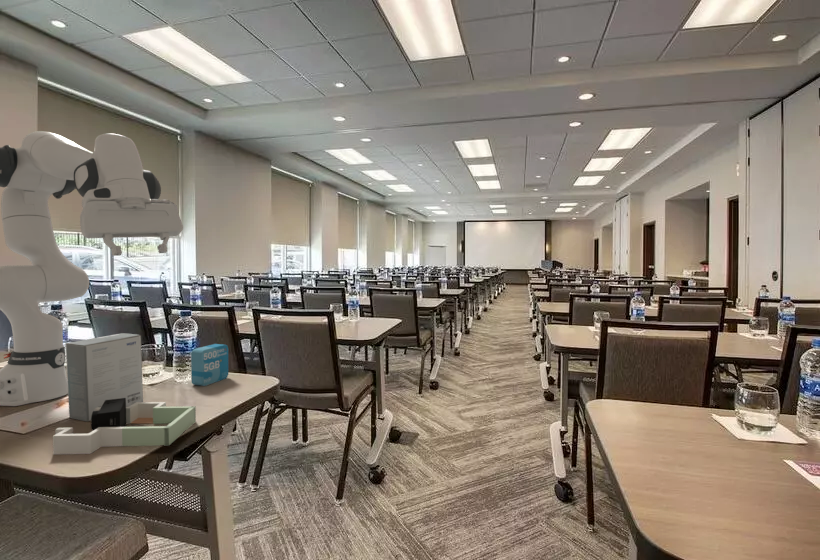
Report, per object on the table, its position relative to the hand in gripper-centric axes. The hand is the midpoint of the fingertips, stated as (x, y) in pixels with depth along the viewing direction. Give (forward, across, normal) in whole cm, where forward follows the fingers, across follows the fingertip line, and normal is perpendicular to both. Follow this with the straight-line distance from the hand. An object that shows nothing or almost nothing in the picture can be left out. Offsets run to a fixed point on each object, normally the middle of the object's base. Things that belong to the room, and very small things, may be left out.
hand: (141, 253), depth 99 cm
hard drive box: (+32, +4, -38) cm, 50 cm away
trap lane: (+39, +5, -18) cm, 43 cm away
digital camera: (+38, +9, -21) cm, 44 cm away
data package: (+31, -26, -46) cm, 62 cm away
